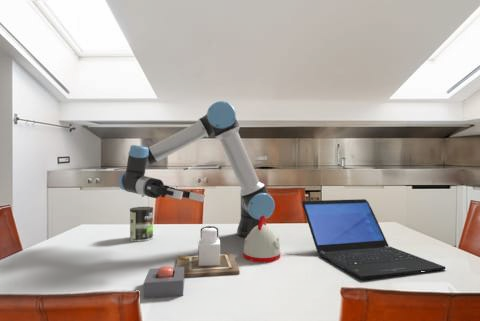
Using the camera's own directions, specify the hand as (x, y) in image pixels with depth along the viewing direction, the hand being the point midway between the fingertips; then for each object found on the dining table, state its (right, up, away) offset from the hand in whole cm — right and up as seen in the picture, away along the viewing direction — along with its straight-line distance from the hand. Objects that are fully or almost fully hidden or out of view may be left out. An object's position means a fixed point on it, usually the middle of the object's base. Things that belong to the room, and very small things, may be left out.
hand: (193, 197), depth 103 cm
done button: (-4, -20, -24) cm, 31 cm away
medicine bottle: (+7, -22, -6) cm, 23 cm away
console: (-4, -22, -24) cm, 33 cm away
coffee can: (-29, -23, +29) cm, 47 cm away
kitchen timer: (+25, -23, +4) cm, 34 cm away
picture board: (+6, -23, -6) cm, 24 cm away
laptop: (+64, -23, +3) cm, 68 cm away
